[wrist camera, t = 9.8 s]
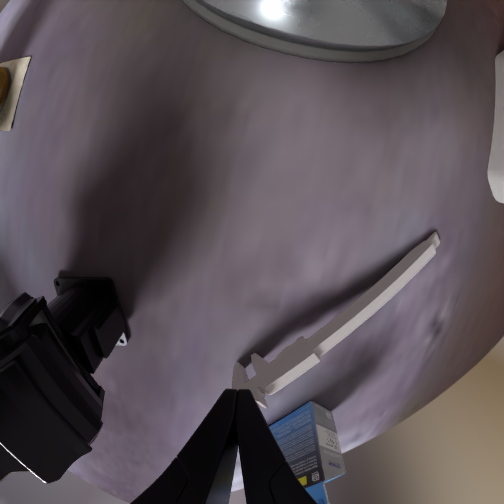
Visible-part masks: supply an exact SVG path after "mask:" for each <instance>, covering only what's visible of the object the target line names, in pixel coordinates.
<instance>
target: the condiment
mask: <svg viewBox="0 0 504 504" xmlns="http://www.w3.org/2000/svg"><path fill="white" fill-rule="evenodd" d="M30 58H31V56H30V57H25V58H19V59H15V60H11V61H7V62H3V63H0V131H10V129H11V124H12V121H13V117H14V113H15V109H16V105H17V102H18V98H19V94H20V90H21V88H22V84H23V79H24V76H25V73H26V71H27V66H28V63H29V61H30ZM12 76H13V78H14V81H13V78H12Z"/></svg>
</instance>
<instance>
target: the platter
mask: <svg viewBox="0 0 504 504" xmlns="http://www.w3.org/2000/svg"><path fill="white" fill-rule="evenodd" d="M195 1H196V2H197V3H199V4H200V5H202V6H203V7H205V8H206V9H208V10H209V11H210V12H212V13H214V14H216V15H218V16H220V17H222V18H223V19H225V20H227V21H229V22H232V23H234V24H236V25H239V26H241V27H243V28H245V29H248V30H251V31H254V32H257V33H260V34H262V35H265V36H268V37H272V38H276V39H279V40H283V41H286V42H290V43H295V44H300V45H304V46H309V47H315V48H321V49H328V50H336V51H349V52H374V51H383V50H390V49H394V48H398V47H402V46H405V45H407V44H410V43H412V42H414V41H416V40H418V39H419V38H421V37H423V36H424V35H426V34H428V33H429V32H431V31H432V30H434V28H435V27H436V26H437V25H438V24H439V23H440V22H441V20H442V18H443V16H444V14H445V10H446V6H447V0H195Z"/></svg>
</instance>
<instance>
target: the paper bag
mask: <svg viewBox="0 0 504 504" xmlns="http://www.w3.org/2000/svg"><path fill="white" fill-rule="evenodd" d="M495 79H496V90H495V115H494V127H493V137H492V145H491V152H490V159H489V165H488V172H487V173H488V180H489V184H490V187H491V190H492V193H493V196H494V198H495V199H496V200H497V201H498V202H501V203H504V50H503V51H502V52H501V53H499V54H498V55H497V56H496V58H495Z"/></svg>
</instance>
